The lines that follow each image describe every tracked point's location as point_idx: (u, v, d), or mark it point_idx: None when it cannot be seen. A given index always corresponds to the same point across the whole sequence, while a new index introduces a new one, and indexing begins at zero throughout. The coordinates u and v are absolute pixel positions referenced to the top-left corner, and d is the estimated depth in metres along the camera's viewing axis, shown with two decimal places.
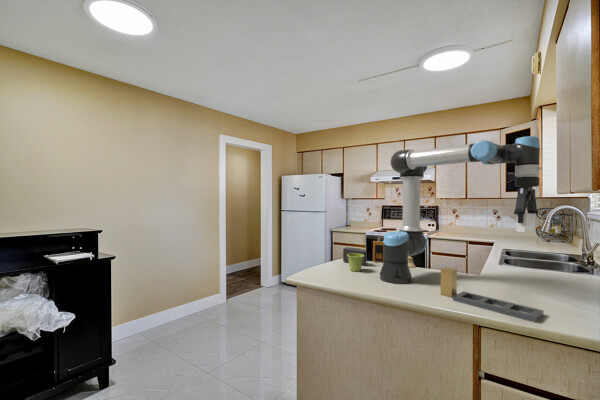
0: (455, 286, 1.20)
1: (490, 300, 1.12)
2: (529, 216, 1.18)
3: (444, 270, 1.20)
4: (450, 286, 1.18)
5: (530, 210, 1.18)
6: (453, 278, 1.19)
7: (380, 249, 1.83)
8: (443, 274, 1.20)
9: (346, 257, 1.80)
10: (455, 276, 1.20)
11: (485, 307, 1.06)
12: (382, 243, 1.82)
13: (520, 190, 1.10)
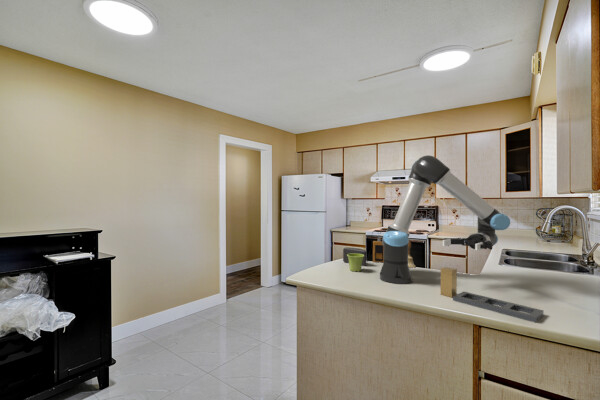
0: (455, 286, 1.20)
1: (490, 300, 1.12)
2: (449, 241, 1.35)
3: (444, 270, 1.20)
4: (450, 286, 1.18)
5: (451, 241, 1.37)
6: (453, 278, 1.19)
7: (380, 249, 1.83)
8: (443, 274, 1.20)
9: (346, 257, 1.80)
10: (455, 276, 1.20)
11: (485, 307, 1.06)
12: None
13: None
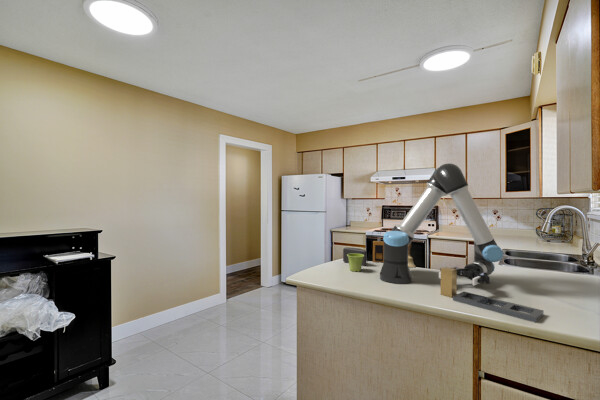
0: (455, 286, 1.20)
1: (490, 300, 1.12)
2: None
3: (444, 270, 1.20)
4: (450, 286, 1.18)
5: None
6: (453, 278, 1.19)
7: (380, 249, 1.83)
8: (443, 274, 1.20)
9: (346, 257, 1.80)
10: (455, 276, 1.20)
11: (485, 307, 1.06)
12: (382, 243, 1.82)
13: None
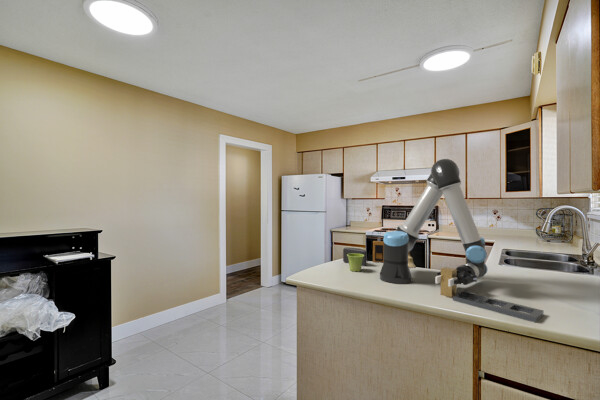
0: (455, 286, 1.20)
1: (490, 300, 1.12)
2: None
3: (444, 270, 1.20)
4: None
5: None
6: None
7: (380, 249, 1.83)
8: (443, 274, 1.20)
9: (346, 257, 1.80)
10: (455, 276, 1.20)
11: (485, 307, 1.06)
12: (382, 243, 1.82)
13: (475, 278, 1.23)
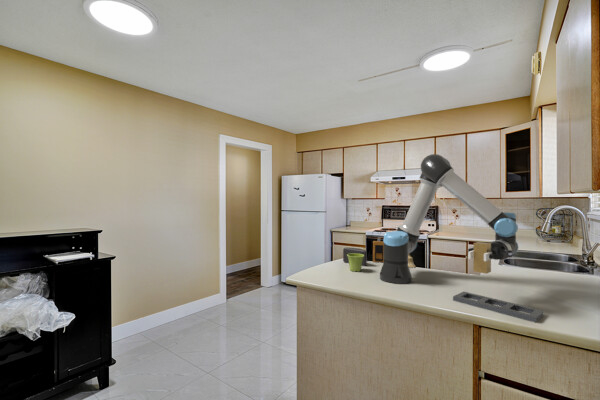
0: (490, 261, 1.11)
1: (490, 300, 1.12)
2: None
3: (477, 244, 1.11)
4: (485, 261, 1.09)
5: None
6: None
7: (380, 249, 1.83)
8: (476, 249, 1.11)
9: (346, 257, 1.80)
10: (489, 251, 1.11)
11: (485, 307, 1.06)
12: (382, 243, 1.82)
13: (510, 253, 1.14)
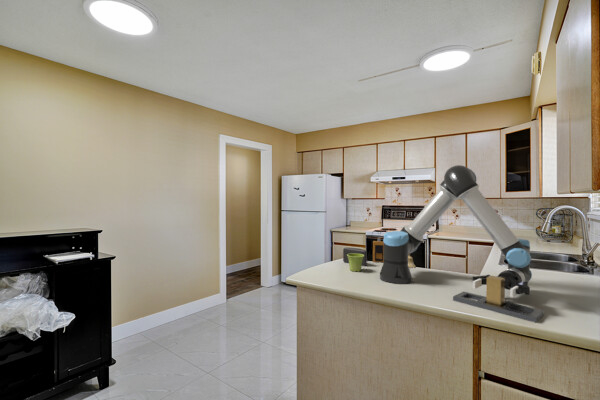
0: (503, 297, 1.07)
1: None
2: (480, 281, 1.13)
3: (491, 279, 1.07)
4: (498, 297, 1.05)
5: (482, 281, 1.15)
6: (502, 288, 1.05)
7: (380, 249, 1.83)
8: (490, 284, 1.07)
9: (346, 257, 1.80)
10: (503, 286, 1.07)
11: (485, 307, 1.06)
12: (382, 243, 1.82)
13: (527, 284, 1.10)
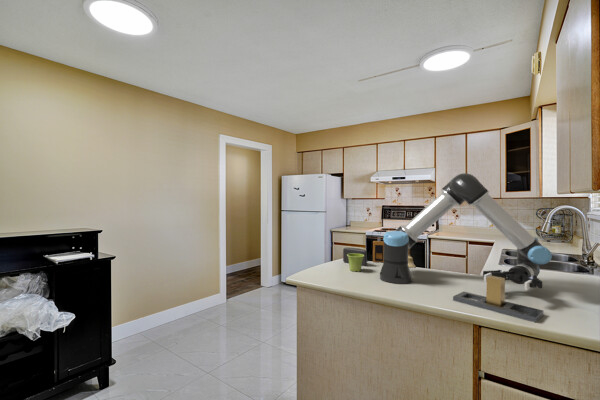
0: (503, 297, 1.07)
1: None
2: (490, 275, 1.22)
3: (491, 279, 1.07)
4: (498, 297, 1.05)
5: (492, 275, 1.24)
6: (502, 288, 1.05)
7: (380, 249, 1.83)
8: (490, 284, 1.07)
9: (346, 257, 1.80)
10: (503, 286, 1.07)
11: (485, 307, 1.06)
12: (382, 243, 1.82)
13: None
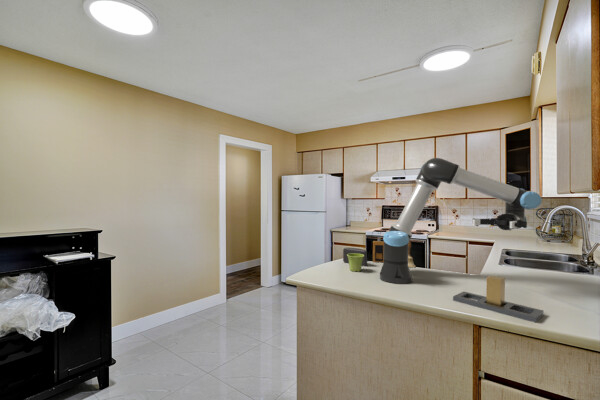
0: (503, 297, 1.07)
1: None
2: (479, 220, 1.29)
3: (491, 279, 1.07)
4: (498, 297, 1.05)
5: (481, 221, 1.31)
6: (502, 288, 1.05)
7: (380, 249, 1.83)
8: (490, 284, 1.07)
9: (346, 257, 1.80)
10: (503, 286, 1.07)
11: (485, 307, 1.06)
12: (382, 243, 1.82)
13: None
